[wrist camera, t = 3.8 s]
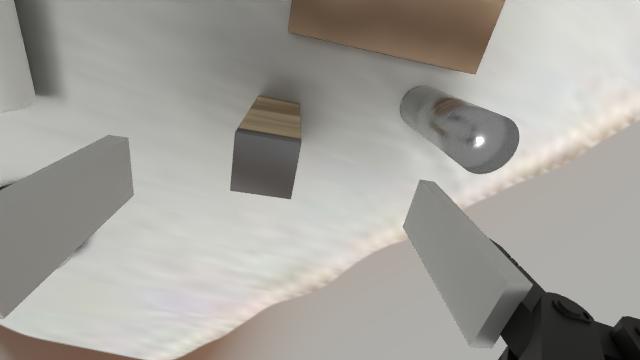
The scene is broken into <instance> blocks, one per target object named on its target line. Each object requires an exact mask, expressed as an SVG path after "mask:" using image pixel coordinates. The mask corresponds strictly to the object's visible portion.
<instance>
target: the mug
mask: <svg viewBox="0 0 640 360" xmlns="http://www.w3.org/2000/svg"><path fill="white" fill-rule="evenodd" d="M35 102H36V95H35V91H34V86H33V82H32V78H31V73H30V69H29V64H28V60H27V56H26V51H25V47H24V42H23V38H22V34H21V29H20V25H19V20H18V16H17V12H16V7H15V3H14V0H0V112H6V111H13V110H18V109H22V108H25V107H28V106H31V105H32V104H34V103H35Z"/></svg>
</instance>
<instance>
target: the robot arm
mask: <svg viewBox="0 0 640 360" xmlns="http://www.w3.org/2000/svg"><path fill="white" fill-rule="evenodd" d="M133 195H134V193H133V182H132V172H131V162H130V151H129V141H128V138H125V137H119V136H112V135H108V136H106V137H104V138H102V139H100V140H98V141H96V142H94V143H92V144H90V145H88V146H86V147H84V148H82V149H80V150H78V151H76V152H74V153H72V154H70V155H68V156H66V157H65V158H63V159H61V160H59V161H57V162H55V163H53V164H51V165H49V166H47V167H45V168H43V169H41V170H39V171H37V172H35V173H33V174H31V175H29V176H27V177H25V178H23V179H21V180H19V181H17V182H15V183H13V184H10V185H7V186H3V187H0V319H4V318H5V317H6V316H7V315H8V314H9V313H10V312H12V311H13V310H14V309H15V308H16V307H17V306H18V305H19V304H20V303H21V302H22V301H23V300H24V299H25V298H26V297H27V296H28V295H29V294H30V293H31V292H33V291H34V290H35V289H36V288H37V287H38V286H39V285H40V284H41V283H42V282H43V281H44V280H45V279H46V278H47V277H48V276H49V275H50V274H51V273H52V272H53V271H55V270H56V269H57V268H58V267H59V266H60V265H61V264H62V263H63V262H64V261H65V260H66V259H67V258H68V257H69V256H70V255H71V254H72V253H73V252H74V251H76V250H77V249H78V248H79V247H80V246H81V245H82V244H83V243H84V242H85V241H86V240H87V239H88V238H89V237H90V236H91V235H92V234H93V233H94V232H95V231H96V230H98V229H99V228H100V227H101V226H102V225H103V224H104V223H105V222H106V221H107V220H108V219H109V218H110V217H111V216H112V215H113V214H114V213H115V212H116V211H117V210H118V209H120V208H121V207H122V206H123V205H124V204H125V203H126V202H127V201H128V200H129V199H130V198H131V197H132V196H133ZM403 228H404V230H405V232H406V233H407V235H408V237H409V239H410V240H411V242H412V244H413V246H414V248H415V249H416V251H417V253H418V255H419V257H420V258H421V260H422V262H423V264H424V265H425V267H426V269H427V271H428V273H429V274H430V276H431V278H432V280H433V281H434V283H435V285H436V287H437V289H438V291H439V292H440V294H441V296H442V298H443V299H444V301H445V303H446V305H447V307H448V308H449V310H450V312H451V314H452V315H453V317H454V319H455V321H456V323H457V325H458V326H459V328H460V330H461V332H462V333H463V335H464V337H465V339H466V340H467V342H468V344H469V346H470V347H478V348H492V347H493V346H494V344H495V342H496V341H497V340H498V338H499V336H500V335H501V336H502V338H503V339H504V341H505V342H506V344H507V345H508V346H507V347H506V349H505V350H504V352H503V353H502V355H501V356H500V358H499V359H498V360H640V319H637V318H633V317H629V316H626V317H622V318H621V319H620V320H619V322H618V323H617V324H616V325H615V326H614V327H611V326H608V325H605V324H602V323H599V322H596V321H594V319H593V317H592V316H591V315H590V314H589V313H588V312H587V311H586V310H584V309H583V308H582V307H581V306H579V305H578V304H577V303H575V302H573V301H572V300H570V299H568V298H566V297H564V296H561V295H559V294H556V293H550V292H547V293H546V292H545V291H544V290H543V289H542V288H541V287H540V286H539V285H538V284H537V283H536V282H535V281H534V280H533V279H532V278H531V276H529V274H528V273H527V272H526V271H524V269H523V268H522V267H521V266H518V263H517V262H516V261H515V260H514V259H513V258H511V256H510V255H509V254H508V253H507V252H506V251H505V250H504V249H503V248H502V247H501V246H500V245H498V244H497V243H495V242H494V241H492V240H491V239H489V238H488V237H487V236H486V235H485V234H484V233H483V232H482V231H481V230H480V229H479V228H478V227H477V226H476V225H475V224H474V223H473V221H472V220H470V218H469V217H468V216H467V215H466V214H465V213H464V212H463V211H462V210H461V209H460V208H459V207H458V206H457V205H456V204H455V203H454V202H453V201H452V199H451V198H450V197H449V196H448V195H447V194H446V193H445V192H444V191H443V190H442V189H441V188H440V187H439V186H438V185H437V184H436V183H435V182H433V181H426V180H420V181H419V184H418V186H417V189H416V192H415V195H414V197H413V200H412V203H411V206H410V208H409V211H408V214H407V217H406V220H405V222H404V225H403Z"/></svg>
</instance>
